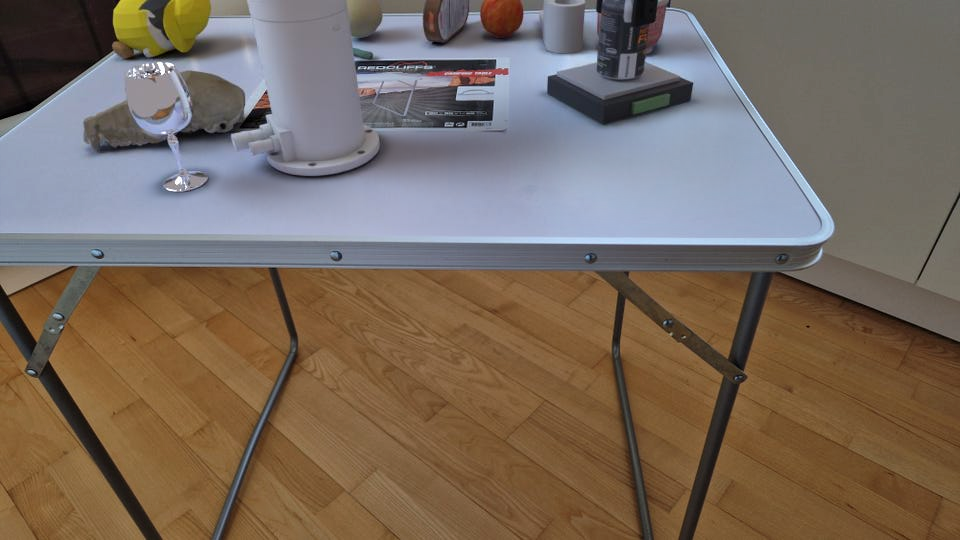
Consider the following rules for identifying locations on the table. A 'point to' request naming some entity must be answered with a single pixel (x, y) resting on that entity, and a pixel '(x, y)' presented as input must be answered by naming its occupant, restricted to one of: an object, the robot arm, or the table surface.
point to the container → (650, 25)
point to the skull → (211, 111)
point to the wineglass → (163, 112)
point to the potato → (363, 17)
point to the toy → (158, 25)
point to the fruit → (501, 16)
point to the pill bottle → (620, 41)
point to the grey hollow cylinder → (562, 25)
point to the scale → (618, 92)
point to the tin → (444, 18)
